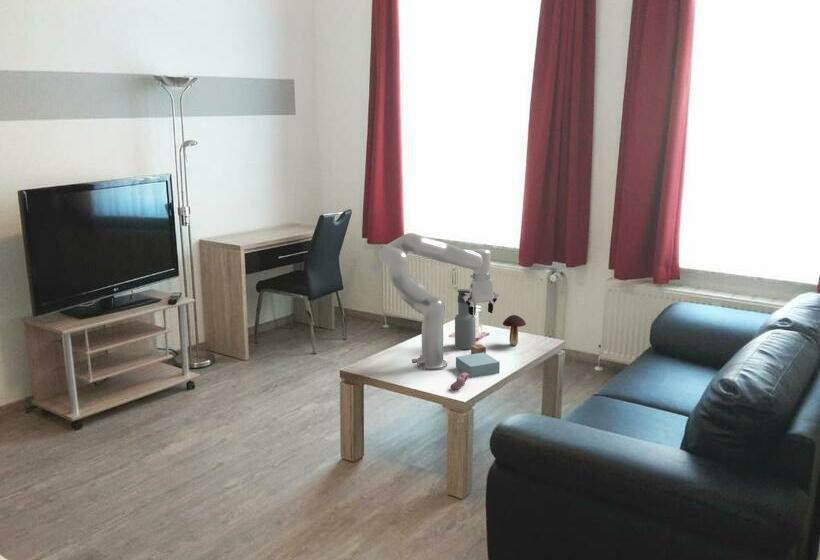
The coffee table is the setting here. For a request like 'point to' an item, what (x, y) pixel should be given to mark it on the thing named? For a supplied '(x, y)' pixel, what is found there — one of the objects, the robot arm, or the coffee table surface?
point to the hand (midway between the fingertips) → (480, 313)
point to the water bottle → (464, 323)
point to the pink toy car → (460, 381)
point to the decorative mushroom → (514, 327)
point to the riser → (477, 364)
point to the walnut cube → (478, 349)
